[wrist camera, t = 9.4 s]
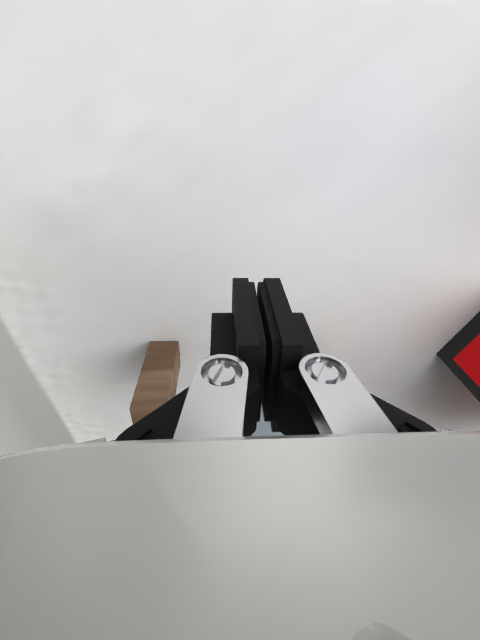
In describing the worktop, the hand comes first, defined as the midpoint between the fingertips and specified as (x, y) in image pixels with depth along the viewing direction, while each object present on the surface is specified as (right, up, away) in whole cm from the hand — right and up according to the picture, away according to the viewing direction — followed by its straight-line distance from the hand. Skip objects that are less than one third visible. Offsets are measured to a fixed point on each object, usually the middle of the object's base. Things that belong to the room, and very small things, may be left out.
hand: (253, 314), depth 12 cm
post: (-8, -3, +18) cm, 20 cm away
